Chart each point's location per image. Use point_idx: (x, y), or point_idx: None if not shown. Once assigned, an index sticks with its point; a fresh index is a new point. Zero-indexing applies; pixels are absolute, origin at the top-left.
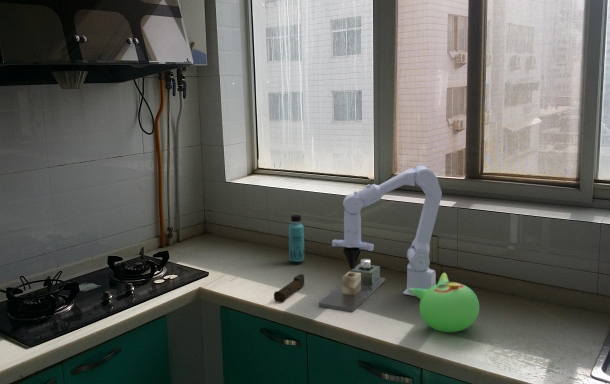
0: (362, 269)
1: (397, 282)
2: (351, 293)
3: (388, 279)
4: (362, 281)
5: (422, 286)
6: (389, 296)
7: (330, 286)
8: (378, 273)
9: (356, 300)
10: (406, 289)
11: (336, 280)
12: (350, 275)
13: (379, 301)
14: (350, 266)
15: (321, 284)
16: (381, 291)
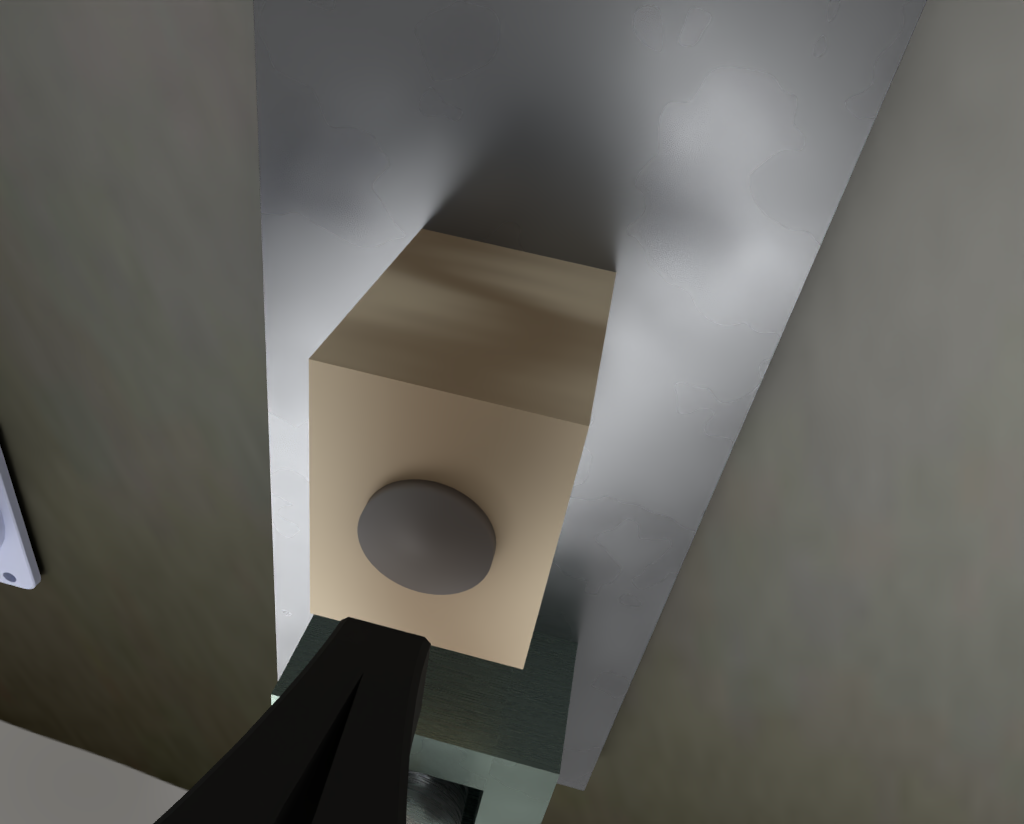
0: (427, 782)
1: (186, 659)
2: (465, 248)
3: None
4: None
5: None
6: (86, 355)
7: (832, 555)
8: None
9: (322, 2)
10: (8, 510)
11: (767, 696)
12: (430, 488)
13: (107, 182)
14: (388, 674)
15: (960, 602)
16: (222, 472)
